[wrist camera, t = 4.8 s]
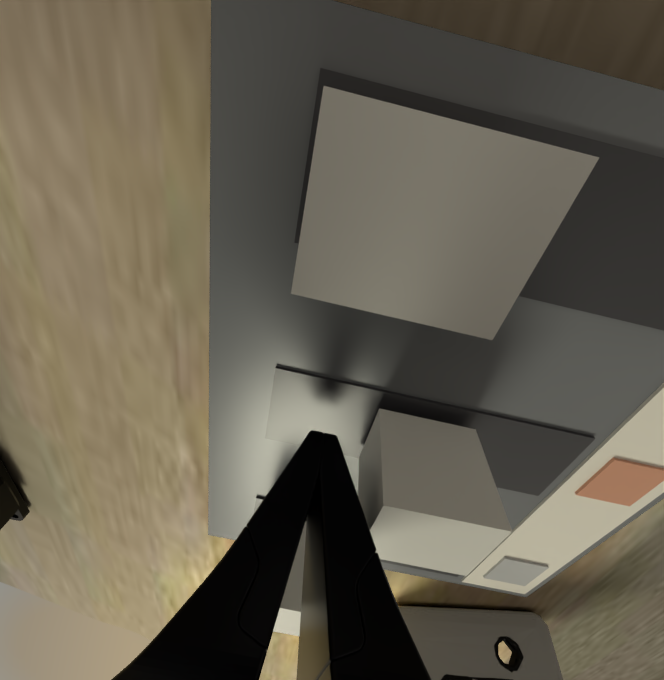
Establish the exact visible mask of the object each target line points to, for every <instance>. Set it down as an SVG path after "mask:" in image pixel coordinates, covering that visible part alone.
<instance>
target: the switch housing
mask: <svg viewBox="0 0 664 680" xmlns="http://www.w3.org/2000/svg"><path fill="white" fill-rule="evenodd" d="M324 86H327V87H331V88H334V89H338V90H342V91H346V92H350V93H354V94H357V95H361V96H365V97H369V98H373V99H377V100H380V101H384V102H388V103H392V104H396V105H400V106H403V107H407V108H411V109H415V110H419V111H423V112H427V113H430V114H434V115H438V116H442V117H446V118H450V119H453V120H457V121H461V122H465V123H469V124H473V125H476V126H480V127H484V128H488V129H492V130H496V131H499V132H503V133H507V134H511V135H515V136H519V137H522V138H526V139H530V140H534V141H538V142H542V143H546V144H549V145H553V146H557V147H561V148H565V149H569V150H572V151H576V152H580V153H584V154H588V155H592V156H595V157H599V159H598V161H597V163H596V164H595V166H594V168H593V170H592V171H591V173H590V175H589V176H588V178H587V180H586V182H585V183H584V185H583V187H582V188H581V190H580V192H579V193H578V195H577V197H576V199H575V200H574V202H573V204H572V205H571V207H570V209H569V211H568V212H567V214H566V216H565V217H564V219H563V221H562V222H561V224H560V226H559V228H558V229H557V231H556V233H555V234H554V236H553V238H552V239H551V241H550V243H549V245H548V246H547V248H546V250H545V251H544V253H543V255H542V257H541V258H540V260H539V262H538V263H537V265H536V267H535V268H534V270H533V272H532V274H531V275H530V277H529V279H528V280H527V282H526V284H525V286H524V287H523V289H522V291H521V292H520V294H519V296H518V297H517V299H516V301H515V303H514V304H513V306H512V308H511V309H510V311H509V313H508V315H507V316H506V318H505V320H504V321H503V323H502V325H501V326H500V328H499V330H498V332H497V333H496V335H495V337H494V338H493V340H489V339H485V338H480V337H476V336H472V335H467V334H463V333H459V332H454V331H450V330H446V329H441V328H437V327H433V326H428V325H424V324H420V323H415V322H411V321H407V320H402V319H398V318H394V317H389V316H385V315H381V314H377V313H372V312H368V311H364V310H359V309H355V308H351V307H346V306H342V305H338V304H333V303H329V302H325V301H320V300H316V299H312V298H307V297H303V296H299V295H294V294H291V290H292V283H293V277H294V271H295V264H296V258H297V252H298V245H299V239H300V233H301V226H302V220H303V214H304V207H305V201H306V195H307V188H308V182H309V175H310V169H311V163H312V156H313V150H314V144H315V137H316V131H317V125H318V118H319V112H320V106H321V99H322V93H323V87H324ZM379 408H380V409H385V410H389V411H394V412H398V413H403V414H407V415H412V416H417V417H421V418H426V419H430V420H435V421H439V422H444V423H449V424H453V425H458V426H462V427H467V428H471V429H476V432H477V434H478V437H479V440H480V443H481V446H482V448H483V451H484V454H485V457H486V460H487V462H488V465H489V468H490V471H491V474H492V476H493V479H494V482H495V485H496V488H497V491H498V493H499V496H500V499H501V502H502V505H503V507H504V510H505V513H506V516H507V519H508V521H509V524H510V527H511V530H512V532H511V533H510V534H509V535H508V536H507V537H506V538H505V539H504V540H503V541H502V542H501V543H500V544H499V545H498V546H497V547H496V548H495V549H494V550H493V551H492V552H491V553H490V554H489V555H488V556H487V557H486V558H485V559H484V560H483V561H482V562H480V563H479V564H478V565H477V566H476V567H475V568H474V569H473V570H472V571H471V572H470V573H469V574H468V575H467V576H463V575H458V574H453V573H448V572H443V571H438V570H433V569H428V568H423V567H418V566H413V565H408V564H403V563H398V562H393V561H388V560H382V559H380V561H381V564H382V567H383V569H385V570H390V571H395V572H400V573H405V574H410V575H415V576H420V577H425V578H430V579H436V580H441V581H446V582H451V583H456V584H461V585H466V586H471V587H476V588H481V589H486V590H492V591H497V592H502V593H507V594H512V595H517V596H522V597H527V596H529V595H530V594H532V593H533V592H534V591H536V590H537V589H539V588H540V587H541V586H543V585H544V584H545V583H547V582H548V581H550V580H551V579H552V578H554V577H555V576H557V575H558V574H559V573H561V572H562V571H564V570H565V569H566V568H568V567H569V566H570V565H572V564H573V563H575V562H576V561H577V560H579V559H580V558H582V557H583V556H584V555H586V554H587V553H589V552H590V551H591V550H593V549H594V548H595V547H597V546H598V545H600V544H601V543H602V542H604V541H605V540H607V539H608V538H609V537H611V536H612V535H613V534H615V533H616V532H618V531H619V530H620V529H622V528H623V527H625V526H626V525H627V524H629V523H630V522H632V521H633V520H634V519H636V518H637V517H638V516H640V515H641V514H643V513H644V512H645V511H647V510H648V509H650V508H651V507H652V506H654V505H655V504H657V503H658V502H659V501H661V500H662V499H663V498H664V90H660V89H656V88H653V87H649V86H645V85H642V84H638V83H634V82H631V81H627V80H623V79H620V78H616V77H612V76H609V75H605V74H601V73H598V72H594V71H590V70H587V69H583V68H579V67H576V66H572V65H568V64H565V63H561V62H557V61H554V60H550V59H546V58H543V57H539V56H535V55H532V54H528V53H524V52H520V51H517V50H513V49H509V48H506V47H502V46H498V45H495V44H491V43H487V42H484V41H480V40H476V39H473V38H469V37H465V36H462V35H458V34H454V33H451V32H447V31H443V30H440V29H436V28H432V27H429V26H425V25H421V24H418V23H414V22H410V21H407V20H403V19H399V18H396V17H392V16H388V15H385V14H381V13H377V12H374V11H370V10H366V9H363V8H359V7H355V6H352V5H348V4H344V3H341V2H337V1H333V0H211V143H210V322H209V502H208V535H212V536H217V537H222V538H227V539H232V540H236V539H237V537H238V536H239V535H240V533H241V532H242V530H243V529H244V527H246V525H247V523H248V522H249V520H250V519H251V517H252V516H253V514H254V513H255V511H256V510H257V508H258V507H259V505H260V504H261V502H262V501H263V500H264V498H265V497H266V495H267V494H268V492H269V491H270V489H271V488H272V486H273V485H274V483H275V482H276V480H277V479H278V477H279V476H280V474H281V473H282V472H283V470H284V469H285V467H286V466H287V464H288V463H289V461H290V460H291V458H292V457H293V455H294V454H295V452H296V451H297V449H298V448H299V446H300V445H301V444H302V442H303V441H304V439H305V438H306V436H307V435H308V433H309V432H310V431H311V430H315V431H319V432H323V433H329V434H334V435H336V436H337V437H338V440H339V443H340V446H341V448H342V451H343V454H344V457H345V460H346V463H347V466H348V469H349V472H350V474H351V477H352V480H353V483H354V486H355V489H356V492H357V495H358V474H359V456H360V454H361V451H362V449H363V447H364V444H365V442H366V439H367V437H368V434H369V432H370V430H371V427H372V425H373V422H374V420H375V417H376V415H377V413H378V410H379ZM306 521H307V518H306Z"/></svg>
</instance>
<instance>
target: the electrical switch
mask: <svg viewBox="0 0 664 680" xmlns="http://www.w3.org/2000/svg"><path fill="white" fill-rule="evenodd" d="M399 609H400V612H401V614H402V616H403V618H404V621H405V623H406V625H407V627H408V629H409V631H410V634H411V636H412V638H413V640H414V642H415V645H416V647H417V649H418V651H419V653H420V655H421V658H422V660H423V662H424V664H425V666H426V668H427V671H428V673H429V675H430V677H431V679H432V680H563V678H562V674H561V671H560V667H559V664H558V660H557V657H556V653H555V650H554V646H553V643H552V639H551V636H550V632H549V629H548V626H547V624H546V623H545V622H544V620H543V619H542V618H541V617H540V616H539V615H537V614H535V613H533V612H526V611H505V610H484V609H463V608H442V607H421V606H399ZM501 641H504V642H505V644H506V645H507V646H508V647H509V649H510V650H511V651H512V654H511V658H510V661H509V664H505V663H503V661H502V660H501V659H500V657H499V655H498V644H499V643H500V642H501Z"/></svg>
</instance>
